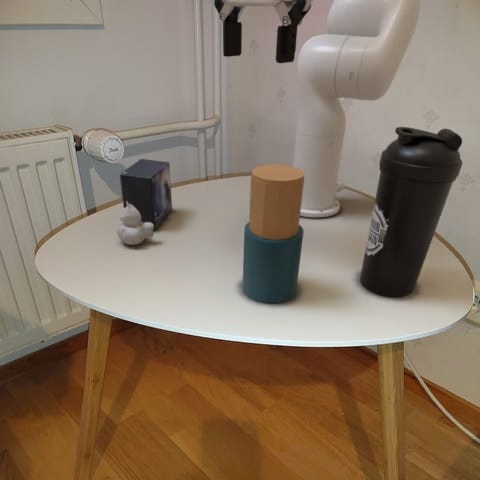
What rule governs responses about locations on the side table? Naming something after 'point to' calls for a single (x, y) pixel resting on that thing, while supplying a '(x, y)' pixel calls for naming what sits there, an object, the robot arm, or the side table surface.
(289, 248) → the teal bottle
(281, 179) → the light brown faceted cylinder
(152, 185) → the small box
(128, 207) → the rubber duck
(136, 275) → the side table surface
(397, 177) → the water bottle
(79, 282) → the side table surface
